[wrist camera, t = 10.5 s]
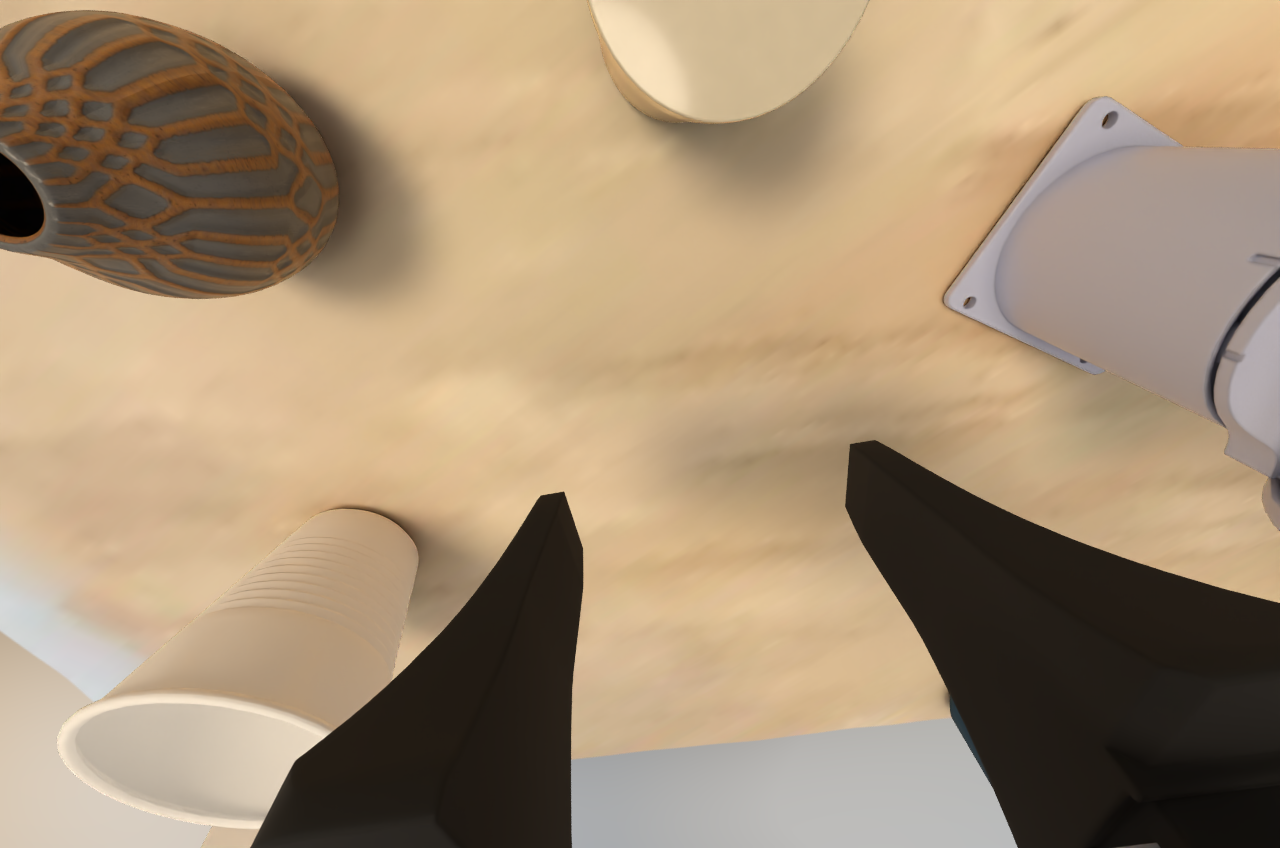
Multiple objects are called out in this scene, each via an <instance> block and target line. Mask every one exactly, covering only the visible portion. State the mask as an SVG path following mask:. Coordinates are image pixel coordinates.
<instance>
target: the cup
mask: <svg viewBox="0 0 1280 848" xmlns="http://www.w3.org/2000/svg"><path fill="white" fill-rule="evenodd" d="M418 561H419V556H418V551H417V548H416V546H415V544H414V542H413V540H412V539H411V538H410V536H409V535H408V534H407V533H406V532H405V531H404V530H403V529H402V528H401V527H400V526H399V525H397V524H396V523H394V522H393V521H391V520H390V519H388V518H386V517H383V516H381V515H379V514H376V513H373V512H370V511H364V510H359V509H335V510H329V511H325V512H321V513H319V514H317V515H315V516H313V517H311V518H310V519H309V520H307V521H306V522H305V523H304V524H303V525H302V526H300V527H299V528H298V529H297V530H296V531H295V532H294V533H292V534H291V535H290V536H289V537H288V538H287V539H285V540H284V541H283V542H282V543H281V544H280V545H279V546H277V547H276V548H275V549H274V550H273V551H272V552H271V553H269V554H268V555H267V556H266V557H265V558H264V559H263V560H261V561H260V562H259V563H258V564H257V565H256V566H255V567H253V568H252V569H251V570H250V571H249V572H248V573H246V574H245V575H244V576H243V577H242V578H241V579H240V580H238V581H237V582H236V583H235V584H234V585H233V586H232V587H230V588H229V589H228V590H227V591H226V592H225V593H224V594H222V595H221V596H220V597H219V598H218V599H217V600H215V601H214V602H213V603H212V604H211V605H210V606H208V607H207V608H206V609H205V610H204V611H203V612H202V613H200V614H199V615H198V616H197V617H196V618H195V619H193V620H192V621H191V622H190V623H189V624H188V625H186V626H185V627H184V628H183V629H182V630H181V631H179V632H178V633H177V634H176V635H175V636H174V637H172V638H171V639H170V640H169V641H168V642H167V643H166V644H164V645H163V646H162V647H161V648H160V649H159V650H158V651H156V652H155V653H154V654H153V655H152V656H151V657H149V658H148V659H147V660H146V661H145V662H144V663H143V664H141V665H140V666H139V667H138V668H137V669H136V670H134V671H133V672H132V673H131V674H130V675H129V676H128V677H126V678H125V679H124V680H123V681H122V682H121V683H119V684H118V685H117V686H116V687H115V688H114V689H113V690H111V691H110V692H109V693H108V694H107V695H106V696H104V697H103V698H102V699H100V700H98V701H96V702H94V703H91V704H89V705H87V706H85V707H83V708H81V709H79V710H78V711H77V712H75V713H74V714H73V715H72V716H71V717H70V718H69V719H68V720H66V721H65V723H64V724H63V726H62V728H61V730H60V733H59V735H58V737H57V745H58V753H59V755H60V756H61V758H62V760H63V761H64V763H65V765H66V766H67V768H68V769H69V770H70V771H71V772H73V773H74V774H75V775H76V776H77V777H78V778H79V779H80V780H81V781H83V782H84V783H86V784H87V785H89V786H91V787H92V788H94V789H95V790H97V791H98V792H100V793H102V794H104V795H106V796H108V797H111V798H113V799H115V800H117V801H119V802H121V803H124V804H126V805H129V806H132V807H134V808H137V809H140V810H143V811H146V812H149V813H153V814H156V815H160V816H164V817H167V818H171V819H176V820H180V821H186V822H191V823H196V824H202V825H209V826H217V827H225V828H241V829H260V827H261V825H262V823H263V822H264V820H265V818H266V816H267V814H268V812H269V810H270V808H271V806H272V804H273V802H274V800H275V798H276V796H277V794H278V792H279V790H280V788H281V786H282V784H283V782H284V780H285V778H286V777H287V775H288V773H289V771H290V769H291V767H292V765H293V764H294V762H295V760H297V759H298V758H299V757H301V756H302V755H303V754H305V753H306V752H307V751H308V750H310V749H311V748H312V747H313V746H315V745H316V744H317V743H319V742H320V741H321V740H322V739H324V738H325V737H326V736H327V735H329V734H330V733H331V732H332V731H334V730H335V729H336V728H337V727H339V726H340V725H341V724H342V723H344V722H345V721H346V720H348V719H349V718H350V717H351V716H352V715H354V714H355V713H356V712H357V711H358V710H360V709H361V708H362V707H363V706H364V705H365V704H367V703H368V702H369V701H370V700H371V699H372V698H373V697H375V696H376V695H377V694H378V693H379V692H380V691H381V690H383V689H384V688H385V687H386V686H387V685H388V684H389V683H390V682H391V680H392V676H393V670H394V668H395V661H396V658H397V652H398V649H399V645H400V640H401V637H402V631H403V629H404V622H405V620H406V614H407V611H408V605H409V602H410V597H411V594H412V590H413V585H414V581H415V577H416V572H417V568H418Z"/></svg>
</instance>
